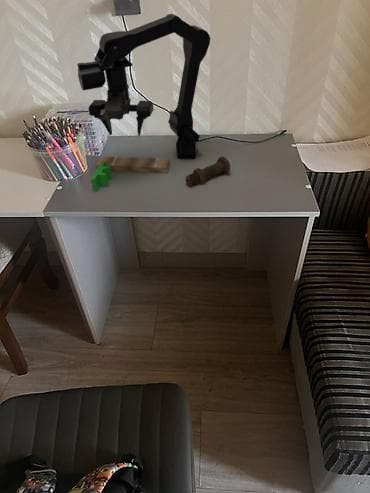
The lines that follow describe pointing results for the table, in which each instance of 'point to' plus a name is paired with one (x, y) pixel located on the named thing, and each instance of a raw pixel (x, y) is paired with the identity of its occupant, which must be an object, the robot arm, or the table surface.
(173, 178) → the table surface
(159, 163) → the brown wooden plank
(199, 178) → the bolt
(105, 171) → the pipe clamp
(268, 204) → the table surface
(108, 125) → the robot arm
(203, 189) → the table surface
